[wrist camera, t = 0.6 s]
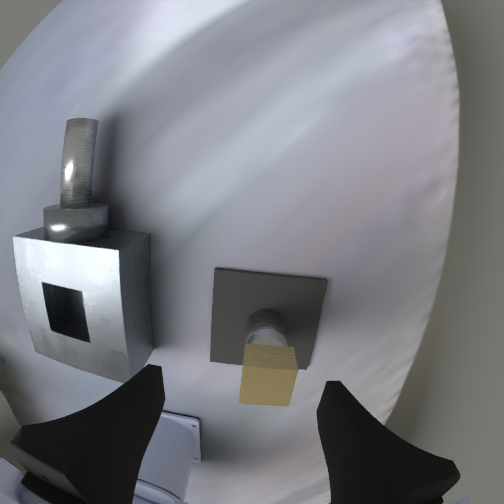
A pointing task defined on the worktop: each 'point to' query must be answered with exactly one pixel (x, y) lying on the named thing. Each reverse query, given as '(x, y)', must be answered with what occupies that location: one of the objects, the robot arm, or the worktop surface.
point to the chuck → (86, 275)
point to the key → (267, 361)
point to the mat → (264, 297)
